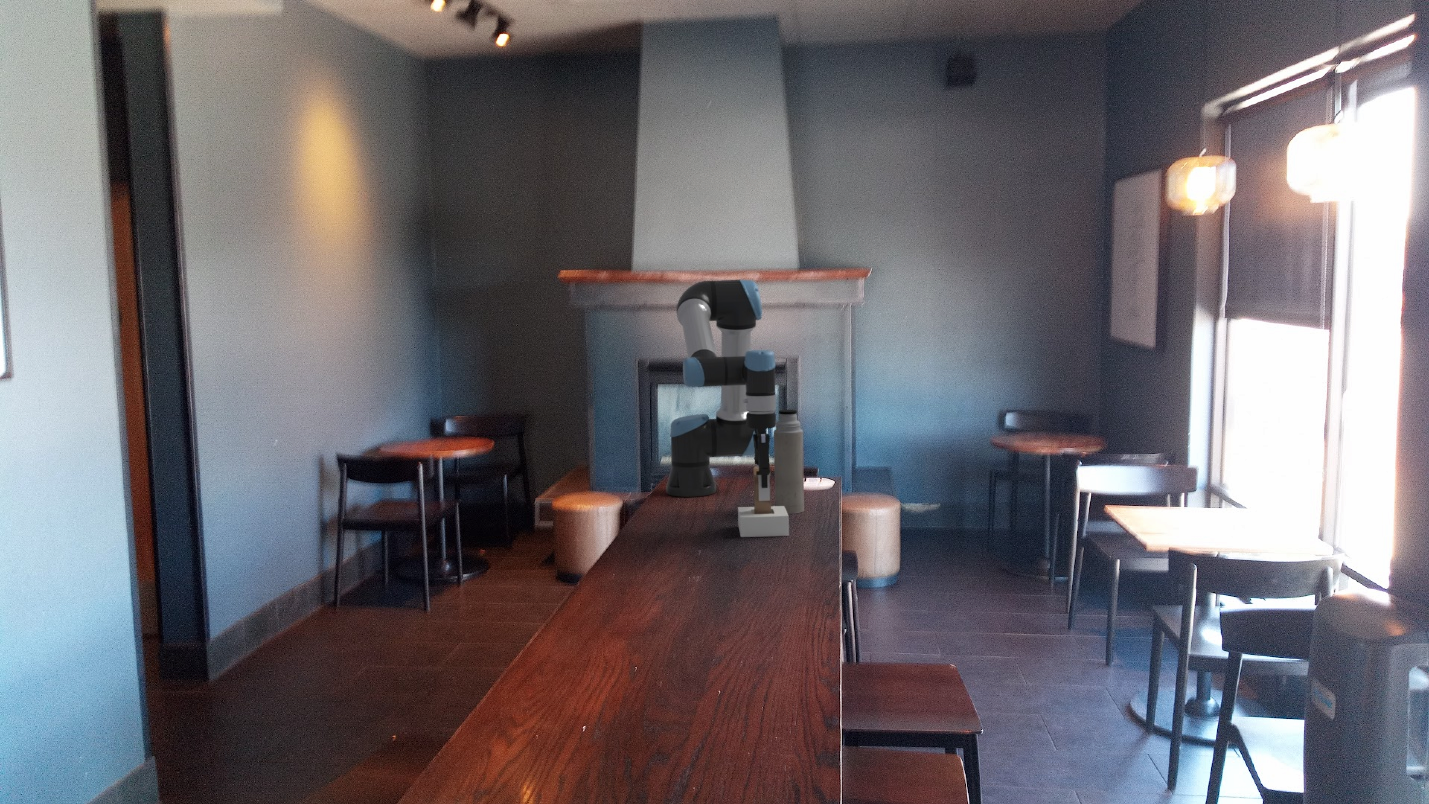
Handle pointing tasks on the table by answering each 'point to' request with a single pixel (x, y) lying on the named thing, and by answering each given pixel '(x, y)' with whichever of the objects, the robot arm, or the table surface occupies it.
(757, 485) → the bronze peg
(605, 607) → the table surface
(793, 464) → the thermos bottle
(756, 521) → the socket block
